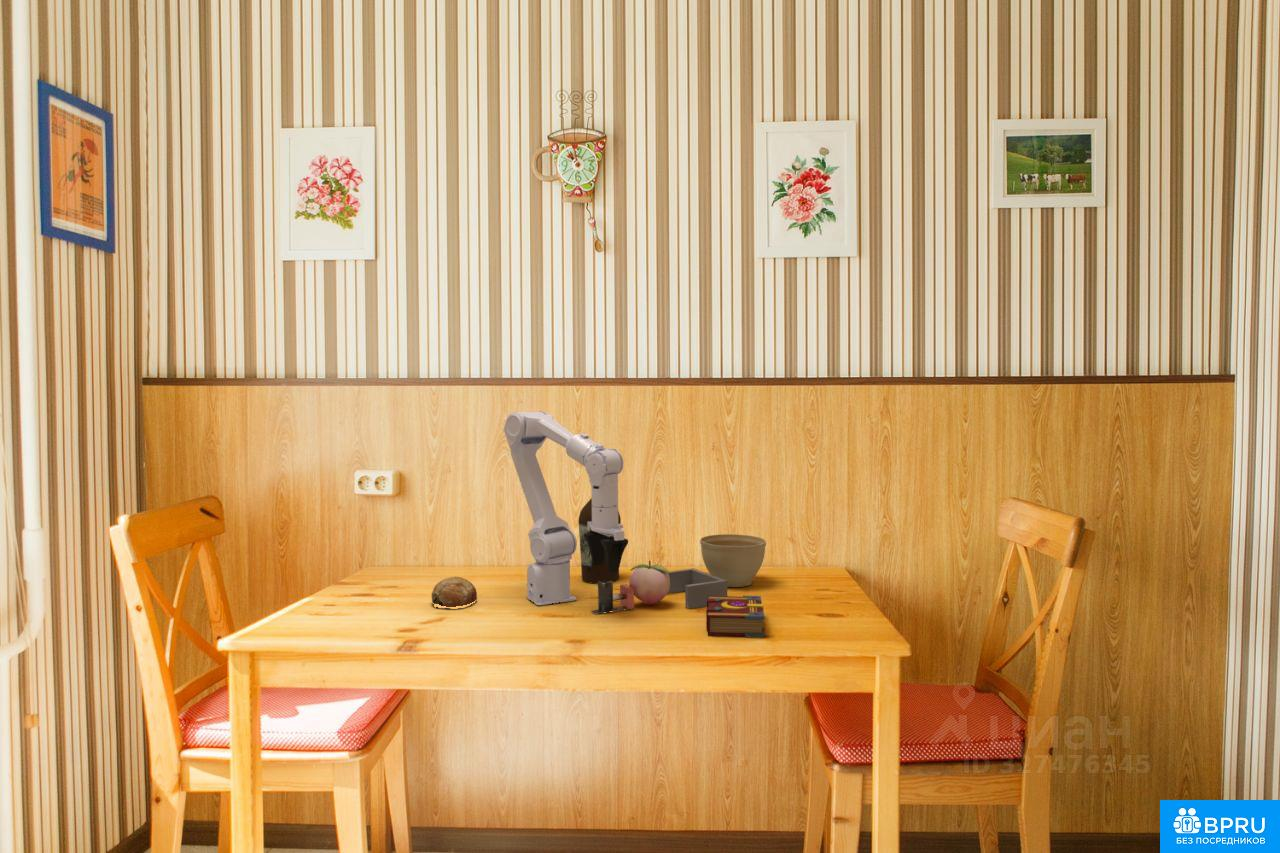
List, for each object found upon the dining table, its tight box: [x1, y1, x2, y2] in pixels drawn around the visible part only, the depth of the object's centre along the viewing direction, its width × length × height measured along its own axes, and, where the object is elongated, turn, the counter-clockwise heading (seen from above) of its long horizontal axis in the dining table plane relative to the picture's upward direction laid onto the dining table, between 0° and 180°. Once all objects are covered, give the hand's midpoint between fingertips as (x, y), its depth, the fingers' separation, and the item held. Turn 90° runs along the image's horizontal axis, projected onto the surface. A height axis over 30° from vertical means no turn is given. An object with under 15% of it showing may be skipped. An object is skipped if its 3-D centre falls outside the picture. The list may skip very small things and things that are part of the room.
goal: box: [668, 567, 728, 610], centre depth 178 cm, size 10×14×5 cm
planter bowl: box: [699, 533, 767, 588], centre depth 192 cm, size 16×16×11 cm
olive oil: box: [578, 497, 622, 584], centre depth 196 cm, size 11×11×25 cm
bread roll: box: [431, 576, 478, 607], centre depth 176 cm, size 10×10×8 cm
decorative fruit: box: [628, 560, 670, 606], centre depth 173 cm, size 9×8×10 cm
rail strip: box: [591, 605, 632, 615], centre depth 169 cm, size 9×2×1 cm, turn 118°
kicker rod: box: [597, 580, 635, 611], centre depth 169 cm, size 8×4×6 cm, turn 118°
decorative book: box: [705, 595, 766, 639], centre depth 158 cm, size 11×16×5 cm
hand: (605, 568), depth 168 cm, fingers open, 7 cm apart
